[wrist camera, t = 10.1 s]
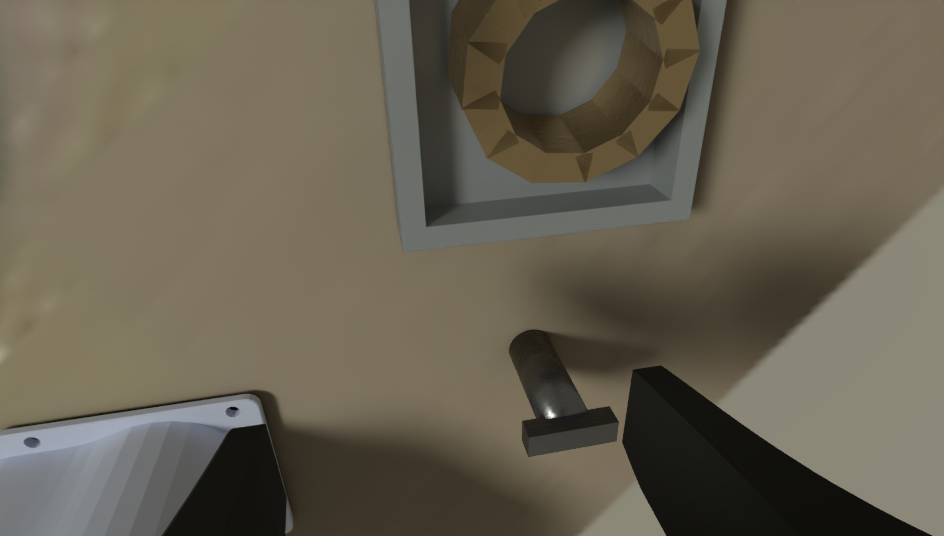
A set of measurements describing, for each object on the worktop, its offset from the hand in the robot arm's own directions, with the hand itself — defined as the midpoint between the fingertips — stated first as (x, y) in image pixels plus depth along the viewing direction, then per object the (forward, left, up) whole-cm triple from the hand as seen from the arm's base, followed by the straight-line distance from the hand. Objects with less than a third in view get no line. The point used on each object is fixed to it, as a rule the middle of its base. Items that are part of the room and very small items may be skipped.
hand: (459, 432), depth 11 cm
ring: (+5, +7, -9) cm, 12 cm away
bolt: (+5, -6, -10) cm, 13 cm away
